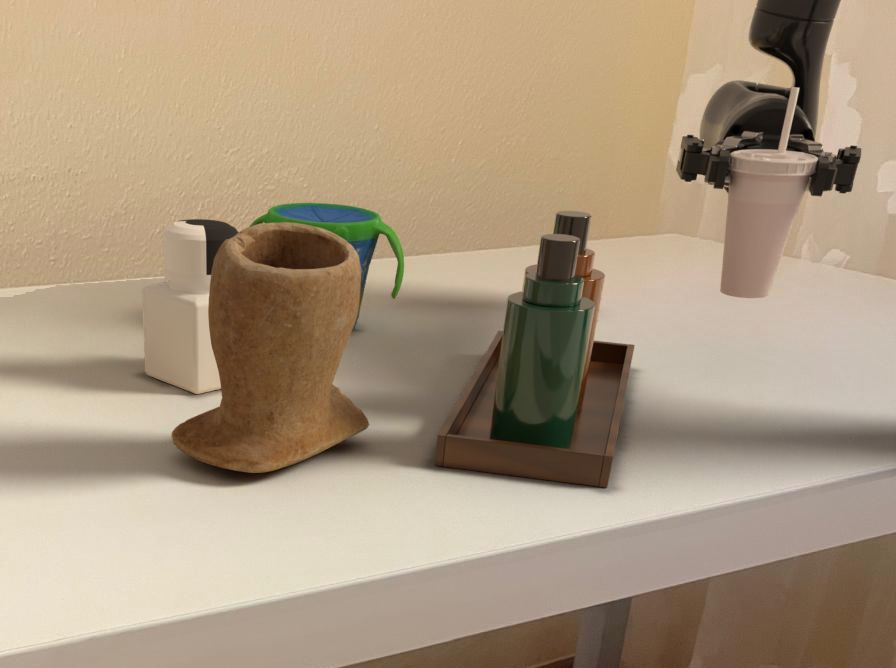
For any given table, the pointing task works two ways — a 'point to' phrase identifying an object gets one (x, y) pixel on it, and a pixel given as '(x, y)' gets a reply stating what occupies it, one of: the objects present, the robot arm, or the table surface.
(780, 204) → the smoothie
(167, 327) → the medicine bottle
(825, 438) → the table surface
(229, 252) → the stone cup
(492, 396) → the tray
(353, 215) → the snack cup
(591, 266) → the amber bottle
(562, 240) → the green bottle
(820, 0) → the robot arm
